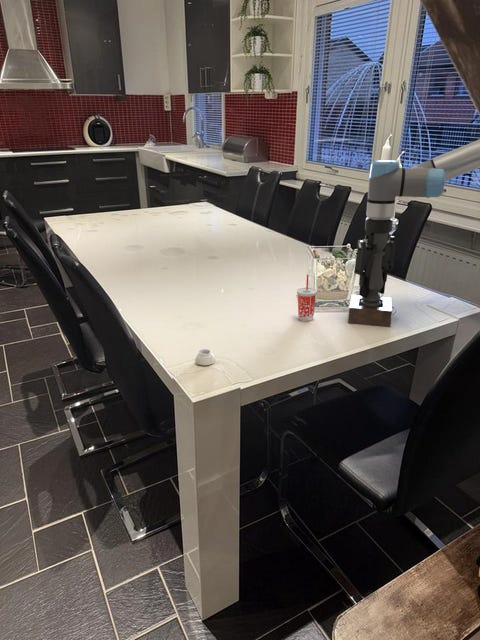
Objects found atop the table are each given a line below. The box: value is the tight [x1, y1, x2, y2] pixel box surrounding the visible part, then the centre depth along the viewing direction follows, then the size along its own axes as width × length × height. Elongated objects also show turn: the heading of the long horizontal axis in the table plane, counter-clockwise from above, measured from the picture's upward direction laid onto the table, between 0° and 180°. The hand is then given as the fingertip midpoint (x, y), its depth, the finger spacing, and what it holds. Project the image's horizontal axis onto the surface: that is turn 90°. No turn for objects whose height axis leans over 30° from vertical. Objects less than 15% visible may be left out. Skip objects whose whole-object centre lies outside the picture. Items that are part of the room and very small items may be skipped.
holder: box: [347, 294, 393, 328], centre depth 143 cm, size 12×12×5 cm
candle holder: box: [360, 233, 388, 307], centre depth 139 cm, size 6×6×25 cm
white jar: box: [194, 348, 216, 366], centre depth 117 cm, size 5×3×5 cm
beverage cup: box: [296, 274, 318, 322], centre depth 142 cm, size 6×6×14 cm
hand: (371, 294), depth 141 cm, fingers closed on candle holder, 6 cm apart
